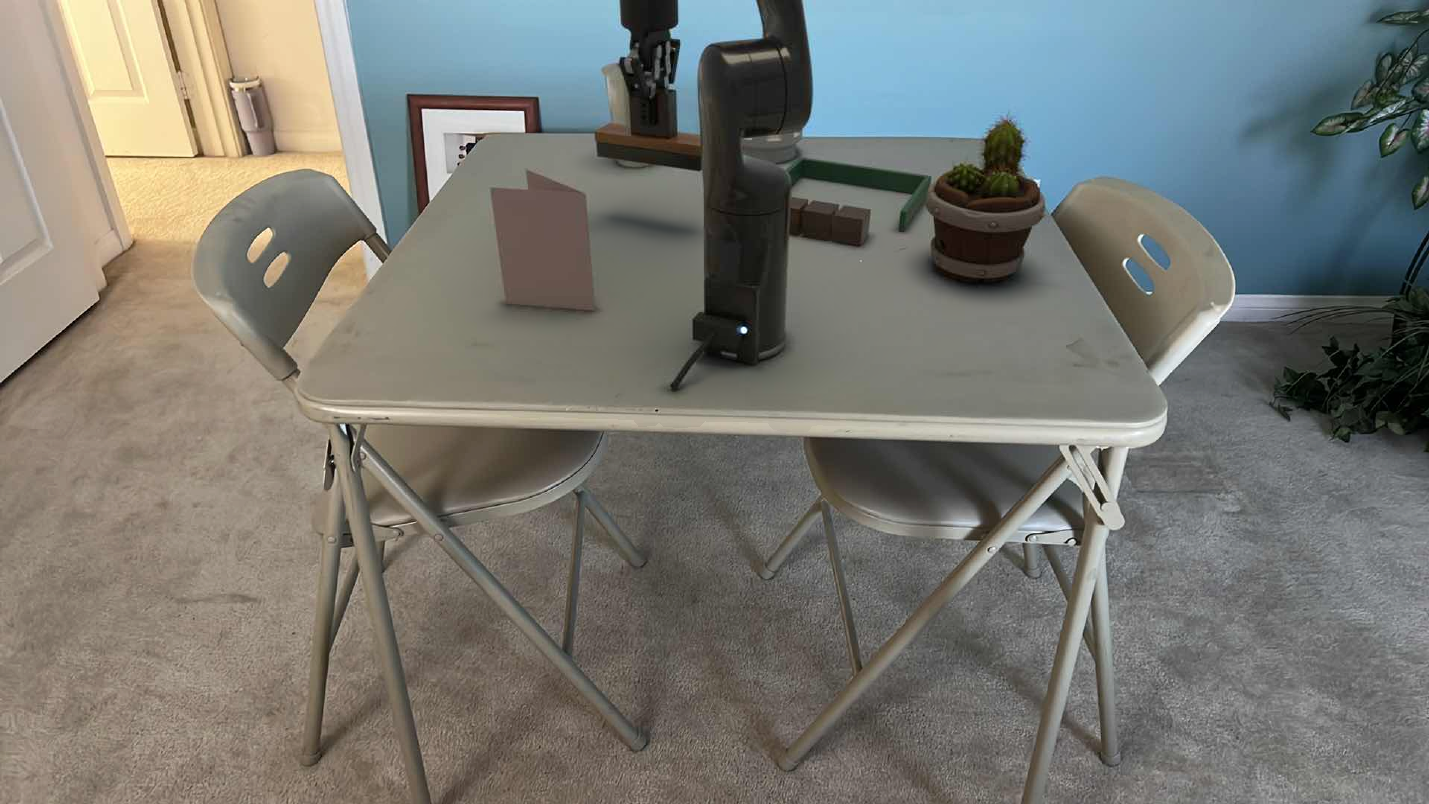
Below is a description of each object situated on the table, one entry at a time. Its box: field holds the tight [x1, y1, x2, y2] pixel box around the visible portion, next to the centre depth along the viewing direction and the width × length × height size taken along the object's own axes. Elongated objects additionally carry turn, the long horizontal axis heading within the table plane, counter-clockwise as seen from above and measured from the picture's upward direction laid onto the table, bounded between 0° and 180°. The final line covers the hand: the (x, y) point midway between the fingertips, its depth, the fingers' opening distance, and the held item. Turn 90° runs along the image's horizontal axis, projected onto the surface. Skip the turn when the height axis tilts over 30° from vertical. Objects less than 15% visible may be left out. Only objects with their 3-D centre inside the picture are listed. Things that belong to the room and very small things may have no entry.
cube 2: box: [801, 199, 840, 242], centre depth 133 cm, size 4×4×4 cm
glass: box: [600, 61, 653, 169], centre depth 152 cm, size 11×11×30 cm
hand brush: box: [594, 88, 702, 172], centre depth 129 cm, size 5×17×10 cm, turn 66°
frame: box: [785, 156, 932, 232], centre depth 143 cm, size 16×22×3 cm
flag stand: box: [741, 29, 804, 164], centre depth 155 cm, size 13×13×30 cm
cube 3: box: [789, 196, 809, 236], centre depth 135 cm, size 4×4×4 cm
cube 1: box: [832, 204, 872, 247], centre depth 131 cm, size 4×4×4 cm
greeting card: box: [489, 168, 596, 312], centre depth 112 cm, size 11×7×15 cm, turn 45°
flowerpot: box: [925, 109, 1046, 284], centre depth 119 cm, size 14×15×20 cm
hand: (653, 122), depth 129 cm, fingers closed on hand brush, 2 cm apart
